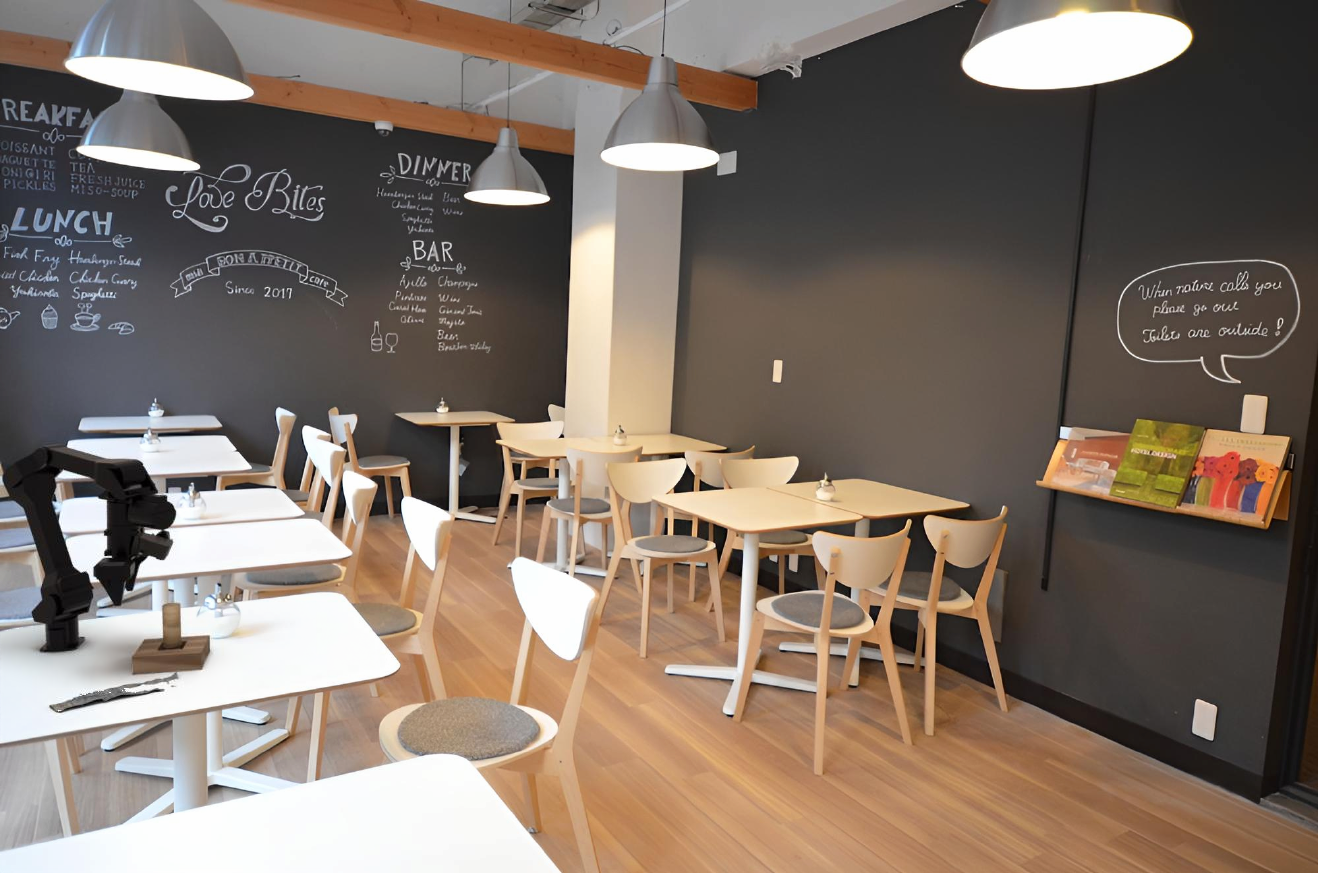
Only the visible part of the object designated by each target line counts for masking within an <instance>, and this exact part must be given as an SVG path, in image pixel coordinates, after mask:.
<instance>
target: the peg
mask: <svg viewBox="0 0 1318 873" xmlns="http://www.w3.org/2000/svg"><path fill="white" fill-rule="evenodd" d="M181 607H182V606H181V603H179V602H167V603H164V604H163V605H162V606H161V609H162V610H161V612H162V638H163V648H165V650H176V649H180V646H181V645H182V642H181V637H182V621H181V620H182V619H181V618H182V614H181V609H182V608H181Z"/></svg>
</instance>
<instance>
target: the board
mask: <svg viewBox="0 0 1318 873" xmlns="http://www.w3.org/2000/svg"><path fill="white" fill-rule="evenodd" d="M210 638H211V635H210V634H209V635H208V634H206V635H203V634H202V635H189V636H188V635H187V636H181V642H182V645H181V646H180V649H176V650H165V648H163V637H159V638H157V637H156V638H145V639H143V641H142V642H141V644H140V645H139V646H138V648H137V649H136V651H135V652H134V654H133V655H132V657H131V667H132V668H131V672H132V675H143V674H144V675H145V674H156V673H157V674H158V673H159V674H160V673H170V672H171V673H175V672H184V671H186V672H187V671H199V670H200V671H201V670H202V669H203V666H204V665H205V663H206V661H207V658H208V657H209V654H210V653H211V639H210Z"/></svg>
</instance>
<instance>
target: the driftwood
mask: <svg viewBox="0 0 1318 873" xmlns="http://www.w3.org/2000/svg"><path fill="white" fill-rule="evenodd" d="M176 680H179V675H178V671H174V672H173V674H172V675H170V676H167V677H163V678H161V677H160V678H154V679H151V680H147V681H145V682H138V683H137V682H136V683H135V682H134V683H133V682H132V683H127V684H122V685H120V686H115V687H109V688H106V689H103V690H104V691H102V690H96V691H95V690H94V691H92V692H93V693H90V692H87V693H88V694H87V693H85V694H86V695H84V694H82V693H79V695H78V696H75V697H72V698H73V699H68V700H65V701H62V702H59V703H56V704H55V703H53V704H50V705H49V707H50V706H51V708H52V709H54V710H55V712H57V711H58V710H61V712H62V711H65V710H66V709H68V708H72V707H76V706H83V705H84V704H88V703H90V702H93V701H96V700H101V699H102V701H103V702H104V703H105V702H107V701H108V700H110V699H114V698H115V697H118V696H121V695H125V696H126V695H142V694H147V693H150V692H152V691H156V690H157V691H162V692H165V690H166V689H165V688H158V687H157V688H156V687H155V688H151V689H150V690H146V689H145V690H141V691H135V692H136V693H135V692H134V691H133V692H132V691H127V690H126V689H124V688H129V689H133V688H134V689H135V688H137V687H140V686H143V685H145V686H148V685H151V686H152V685H153V686H154V685H157V684H160V683H167V684H166V685H169V684H170V682H171V681H174V682H175V681H176ZM170 687H171V688H175V687H176V685H171V686H170ZM122 690H123V691H122ZM125 690H126V691H127V692H126V691H125ZM98 691H99V692H98ZM109 692H111V693H109ZM80 695H82V696H80Z"/></svg>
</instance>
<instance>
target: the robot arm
mask: <svg viewBox="0 0 1318 873" xmlns="http://www.w3.org/2000/svg"><path fill="white" fill-rule="evenodd" d="M63 471H65V472H68V473H72V474H76V475H79V476H82V477H85V478H89V479H91V480H93V482H94V484H95V485H96V486H98V487H100V488H101V489H103V490H104V491H103V492H101V493H100V494H99V495H98V496H97V498H98V499H99V500H104V501H106V529H105V530H103V536H104V537H106V549H105V550H104V551H103V556H104V557H103V558H102V559H100V560H99V561H98V562H97V563H96V564H95V565H94V566H92V573H93V575H92V576H93V577H94V578H95V579H96V580H98V582H99V583H100V584H101V586H102V587H103V589H104V591H105V592H106V594H107V595H108V597H109V598H110V600H111V602H112V604H113V605H114V607H121V606H122V604H123V600H124V595H125V591H126V592H133V591H134V588H135V585H136V581H137V577H138V573H139V571H140V570H139V569H140V566H141V565H142V563H144V561H146V560H147V559H148V557H152V558H155V559H156V560H158V561H165V560H166V558H167V557H168V556H169V554H170V551H171V549H172V546H173V544H174V541H173V540H174V539H173V538H171V536H170V534H171V533H170V531H169V530H167V529H169V528H170V527H171V526H172V525H173V524H174V523H175V520H176V517H177V510H176V509H175V506H174V504H173V503H172V502H170V501H168V495H167V494H158V493H159V490H158V488H157V487H156V483H155V482H154V480H152V478H151V476H150V474H149V472H148V470H147V469H146V467H145V466H144V463H143V461H141V460H139V459H137V458H106V457H103V456H100V455H95V454H93V453H89V452H85V451H82V450H77V449H75V448H71V447H68V446H67V445H65V444H59V443H57V444H51V445H50V444H49V445H43V446H40V447H38V448H37V449H35V450H34V451H33V452H32V453H31V454H29V455H27V456H25V457H23V458H21V459H20V460H17V461H15V462H14V463H13V464H11V465H9V466H7V467H6V469H5V471H4V472H3V473H2V476H1V477H2V479H1V480H2V484H3V486H4V487H5V488H4V489H6V492H7V494H8V496H9V498H10V499H11V500H12V501H14V502H15V503H16V504H17V505H18V506H19V507H21V508H23V511H24V512H23V513H24V514H25V517H26V520H27V524H28V526H29V529H30V532H31V535H32V536H31V537H32V538H33V542H34V545H35V548H36V551H37V554H38V558H39V561H40V563H41V566H42V569H43V572H44V577H43V580H42V583H41V586H40V590H39V591H40V595H41V600H40V601H39V603H38V604H37V605H36V606H35V607H34V608H33V609H32V611H31V612H30V613H31V615H32V616H31V617H32V619H33V622H35V623H39V624H44V628H45V629H44V630H45V632H44V633H45V643H44V644H43V645H42V646H41V647H40V648H39V652H55V651H71V650H72V651H73V650H77V649H78V648H79V647H80V645H81V644H82V643H83V642H84V641H85V640H86V636H80V628H79V627H80V625H79V616H80V615H83V614H87V613H89V612H90V608H91V605H92V601H93V599H94V591H93V590H94V589H95V587H94V586H93V585H92V582H91V579H90V574H89V572H88V571H85V570H84V571H82V572H81V571H80V570H78V569H77V568H76V567H75V566H74V564H73V561H72V558H71V555H70V552H69V549H68V546H67V543H66V540H65V536H64V534H63V530H62V528H61V524H60V521H59V518H58V514H57V512H56V509H55V506H54V502H53V498H54V496H55V493H56V490H57V486H58V485H57V482H56V478H57V477H58V476H59V475H61V474H62V472H63ZM145 528H147V529H153V530H158V533H156V534H155V533H153V532H152V533H148V532H145V530H146V529H145Z"/></svg>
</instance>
